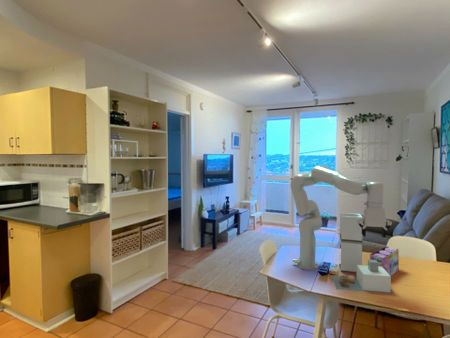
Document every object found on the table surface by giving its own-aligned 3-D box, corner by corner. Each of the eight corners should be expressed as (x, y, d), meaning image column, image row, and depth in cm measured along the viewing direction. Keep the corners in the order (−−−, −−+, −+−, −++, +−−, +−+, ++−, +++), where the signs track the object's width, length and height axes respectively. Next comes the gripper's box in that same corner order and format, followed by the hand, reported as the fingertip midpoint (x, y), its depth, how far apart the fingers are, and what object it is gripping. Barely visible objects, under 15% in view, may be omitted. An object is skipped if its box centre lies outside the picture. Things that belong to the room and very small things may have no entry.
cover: (363, 290, 144) (363, 264, 143) (356, 279, 157) (357, 256, 156) (390, 292, 141) (391, 266, 141) (381, 281, 154) (382, 257, 154)
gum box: (386, 266, 177) (386, 245, 177) (399, 270, 171) (400, 249, 171) (368, 276, 163) (369, 254, 162) (383, 281, 156) (383, 257, 156)
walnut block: (340, 286, 149) (341, 278, 148) (339, 282, 152) (339, 275, 152) (348, 286, 148) (349, 279, 148) (347, 283, 152) (347, 276, 152)
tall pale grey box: (358, 268, 173) (359, 213, 172) (361, 275, 163) (362, 217, 162) (339, 266, 177) (340, 212, 175) (340, 273, 167) (341, 216, 165)
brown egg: (348, 282, 152) (348, 277, 152) (346, 280, 156) (346, 274, 156) (355, 283, 152) (355, 278, 151) (353, 280, 155) (353, 275, 155)
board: (336, 290, 145) (336, 288, 145) (331, 277, 161) (331, 276, 161) (394, 296, 140) (395, 294, 140) (383, 282, 155) (383, 280, 155)
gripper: (359, 205, 145) (358, 237, 146) (395, 206, 142) (394, 239, 143) (355, 203, 152) (354, 233, 153) (389, 204, 149) (388, 235, 150)
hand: (373, 236), depth 148 cm, fingers open, 9 cm apart
